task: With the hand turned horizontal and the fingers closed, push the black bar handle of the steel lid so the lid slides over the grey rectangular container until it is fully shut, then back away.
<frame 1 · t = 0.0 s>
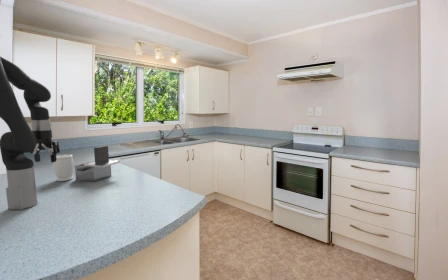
hand: (45, 161, 117), 17 cm above the countertop, tool pointing down, fingers open, 8 cm apart
lid: (101, 155, 146), point 15 cm above the countertop, slide at 7.0 cm
jar: (64, 179, 147), on the countertop
grey rectangular container: (94, 177, 150), on the countertop
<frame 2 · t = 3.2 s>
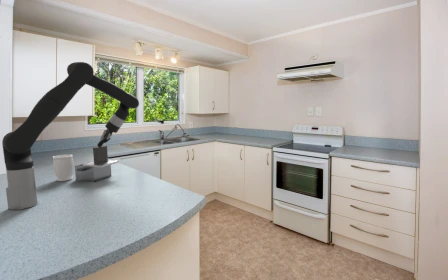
hand: (98, 146, 144), 21 cm above the countertop, tool tilted 35°, fingers closed
lid: (100, 155, 147), point 15 cm above the countertop, slide at 6.2 cm, touching gripper
everything else where it was.
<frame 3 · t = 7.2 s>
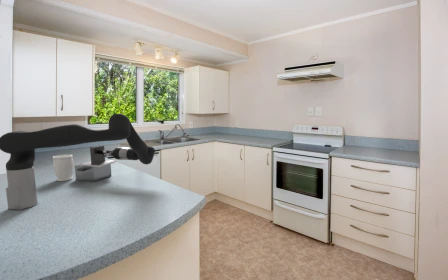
hand: (100, 152, 147), 17 cm above the countertop, tool horizontal, fingers closed
lid: (97, 155, 147), point 15 cm above the countertop, slide at 4.0 cm, touching gripper
everything else where it was.
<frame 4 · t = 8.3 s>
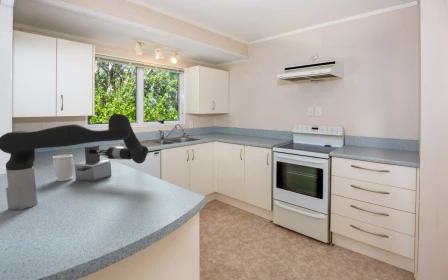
hand: (94, 151, 148), 17 cm above the countertop, tool horizontal, fingers closed
lid: (92, 154, 148), point 15 cm above the countertop, slide at -0.1 cm, touching gripper
everything else where it was.
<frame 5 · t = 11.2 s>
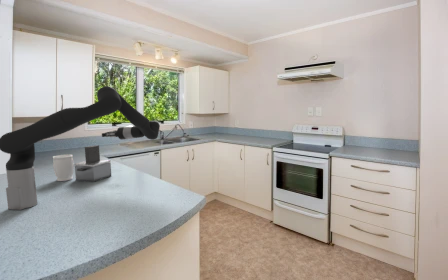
hand: (102, 135, 143), 28 cm above the countertop, tool horizontal, fingers closed
lid: (92, 154, 148), point 15 cm above the countertop, slide at 0.0 cm
everything else where it was.
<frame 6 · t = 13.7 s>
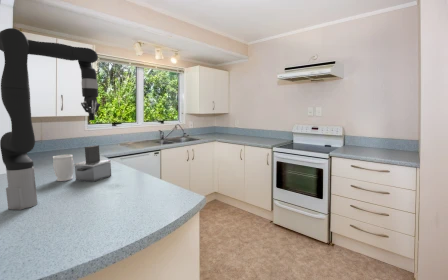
hand: (92, 120, 130), 37 cm above the countertop, tool pointing down, fingers closed
nothing on the countertop moved.
at the end: lid slide at 0.0 cm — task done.
